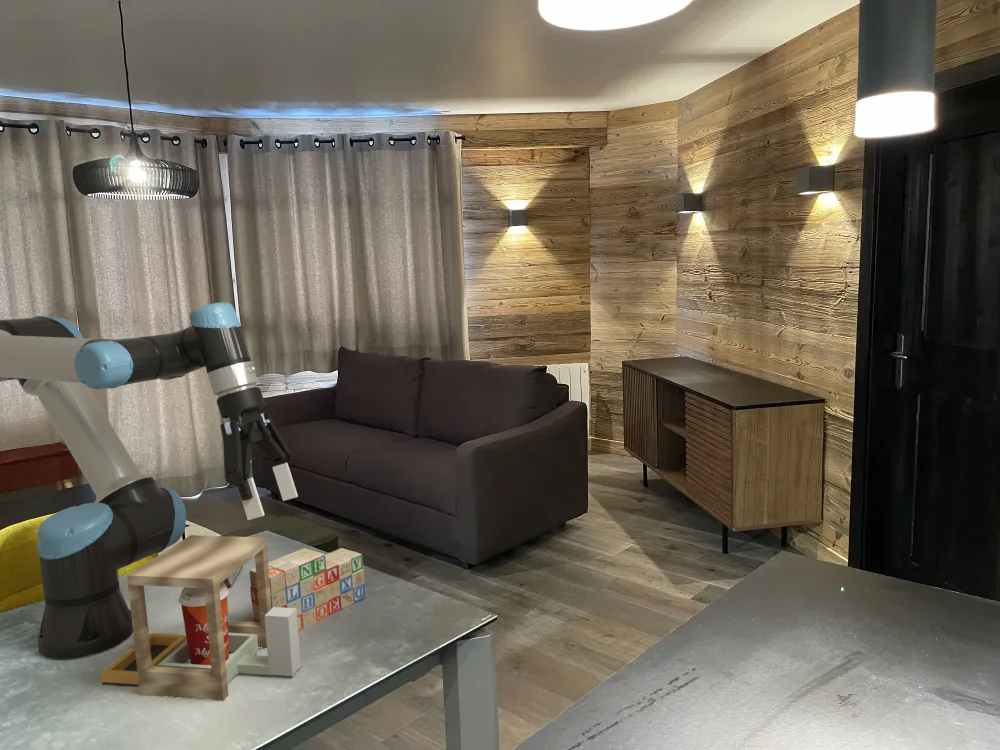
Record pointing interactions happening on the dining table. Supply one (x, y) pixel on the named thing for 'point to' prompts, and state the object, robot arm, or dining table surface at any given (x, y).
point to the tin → (232, 577)
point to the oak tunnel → (206, 568)
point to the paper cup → (201, 623)
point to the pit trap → (126, 666)
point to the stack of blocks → (313, 583)
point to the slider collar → (255, 649)
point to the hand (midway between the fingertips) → (274, 507)
